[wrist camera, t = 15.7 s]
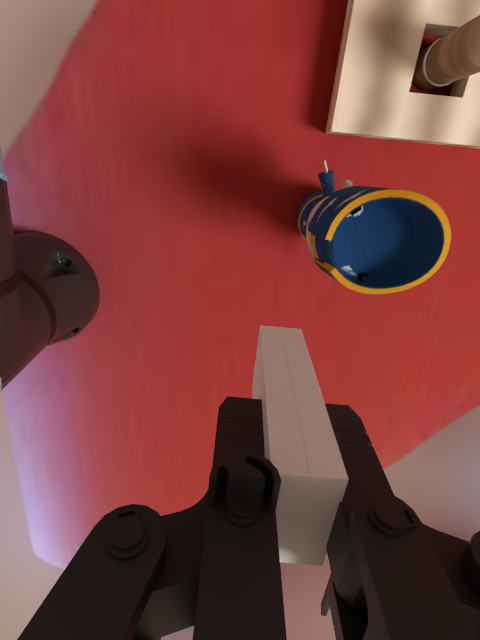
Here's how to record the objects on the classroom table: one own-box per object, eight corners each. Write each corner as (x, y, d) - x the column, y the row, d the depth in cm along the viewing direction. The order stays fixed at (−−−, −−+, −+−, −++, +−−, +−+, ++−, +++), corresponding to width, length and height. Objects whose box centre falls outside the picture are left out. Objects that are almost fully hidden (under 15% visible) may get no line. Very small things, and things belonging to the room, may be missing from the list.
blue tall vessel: (280, 168, 42) (306, 177, 24) (360, 146, 41) (451, 137, 23) (300, 269, 47) (334, 340, 29) (371, 252, 46) (453, 315, 28)
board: (325, 133, 40) (331, 131, 38) (352, -28, 34) (361, -44, 32) (496, 150, 41) (514, 149, 38) (552, -7, 35) (578, -20, 32)
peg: (406, 89, 38) (468, 62, 28) (417, 42, 37) (489, -6, 26) (443, 92, 39) (520, 67, 28) (456, 46, 37) (543, 0, 26)
